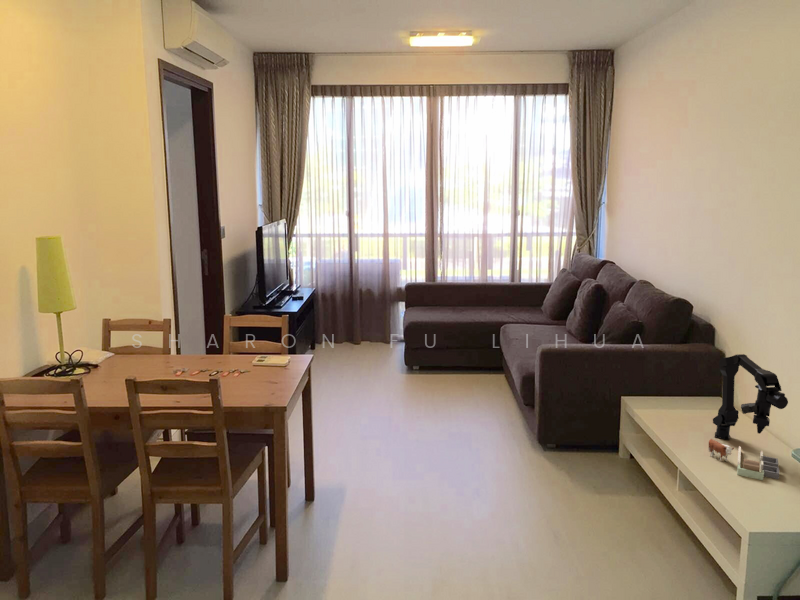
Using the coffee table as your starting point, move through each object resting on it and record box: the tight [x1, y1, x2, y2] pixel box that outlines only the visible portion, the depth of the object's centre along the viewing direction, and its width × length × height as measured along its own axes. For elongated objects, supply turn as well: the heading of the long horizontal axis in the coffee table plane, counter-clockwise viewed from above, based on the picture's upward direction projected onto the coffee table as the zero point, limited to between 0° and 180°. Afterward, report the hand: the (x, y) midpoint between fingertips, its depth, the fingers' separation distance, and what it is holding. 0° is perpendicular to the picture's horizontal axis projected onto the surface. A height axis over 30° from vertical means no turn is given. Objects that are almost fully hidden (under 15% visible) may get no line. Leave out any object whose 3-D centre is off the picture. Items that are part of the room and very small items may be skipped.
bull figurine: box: [708, 438, 735, 463], centre depth 283 cm, size 4×13×8 cm, turn 15°
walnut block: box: [742, 458, 761, 472], centre depth 270 cm, size 6×6×5 cm
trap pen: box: [736, 445, 780, 481], centre depth 277 cm, size 27×15×3 cm, turn 151°
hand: (758, 433), depth 284 cm, fingers closed
